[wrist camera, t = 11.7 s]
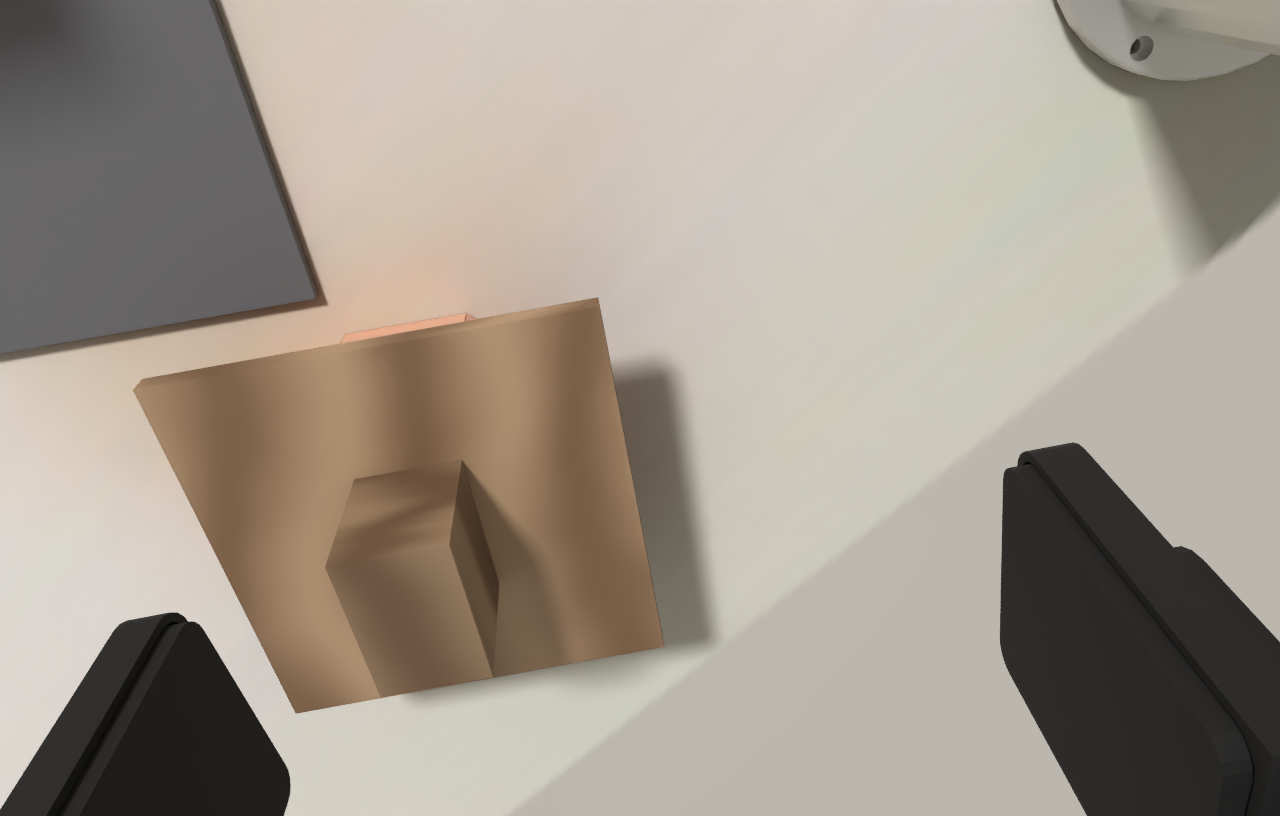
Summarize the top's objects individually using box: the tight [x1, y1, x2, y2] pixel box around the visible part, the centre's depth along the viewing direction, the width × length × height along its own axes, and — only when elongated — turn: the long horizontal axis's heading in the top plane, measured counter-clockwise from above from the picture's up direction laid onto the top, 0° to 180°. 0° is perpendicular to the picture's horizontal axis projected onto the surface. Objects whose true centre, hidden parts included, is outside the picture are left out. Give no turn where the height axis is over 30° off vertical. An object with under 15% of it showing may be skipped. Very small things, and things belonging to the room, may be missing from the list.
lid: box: [133, 298, 664, 713], centre depth 32 cm, size 16×16×6 cm
